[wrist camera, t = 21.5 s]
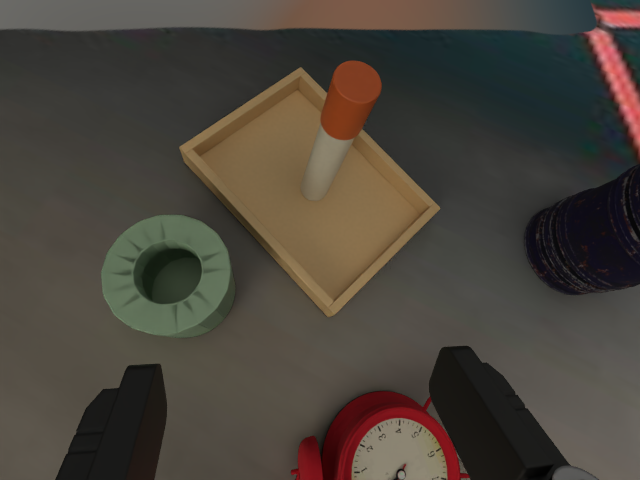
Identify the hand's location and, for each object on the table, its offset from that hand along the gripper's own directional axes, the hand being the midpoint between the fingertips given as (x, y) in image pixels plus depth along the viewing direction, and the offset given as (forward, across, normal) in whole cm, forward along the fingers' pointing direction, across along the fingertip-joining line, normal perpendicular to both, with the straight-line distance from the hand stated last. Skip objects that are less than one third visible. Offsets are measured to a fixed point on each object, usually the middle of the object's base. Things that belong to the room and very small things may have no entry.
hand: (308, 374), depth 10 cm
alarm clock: (+9, -8, +22) cm, 25 cm away
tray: (+26, -4, +4) cm, 27 cm away
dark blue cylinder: (+21, -32, +9) cm, 39 cm away
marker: (+25, -4, +4) cm, 26 cm away
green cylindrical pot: (+19, +6, +11) cm, 23 cm away
